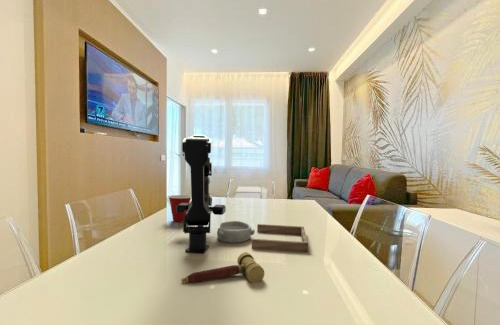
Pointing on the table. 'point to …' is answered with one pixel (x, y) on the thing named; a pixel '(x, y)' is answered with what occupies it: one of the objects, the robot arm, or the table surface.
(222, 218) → the table surface
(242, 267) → the gavel
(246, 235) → the dish
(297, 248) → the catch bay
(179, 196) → the plastic cup
